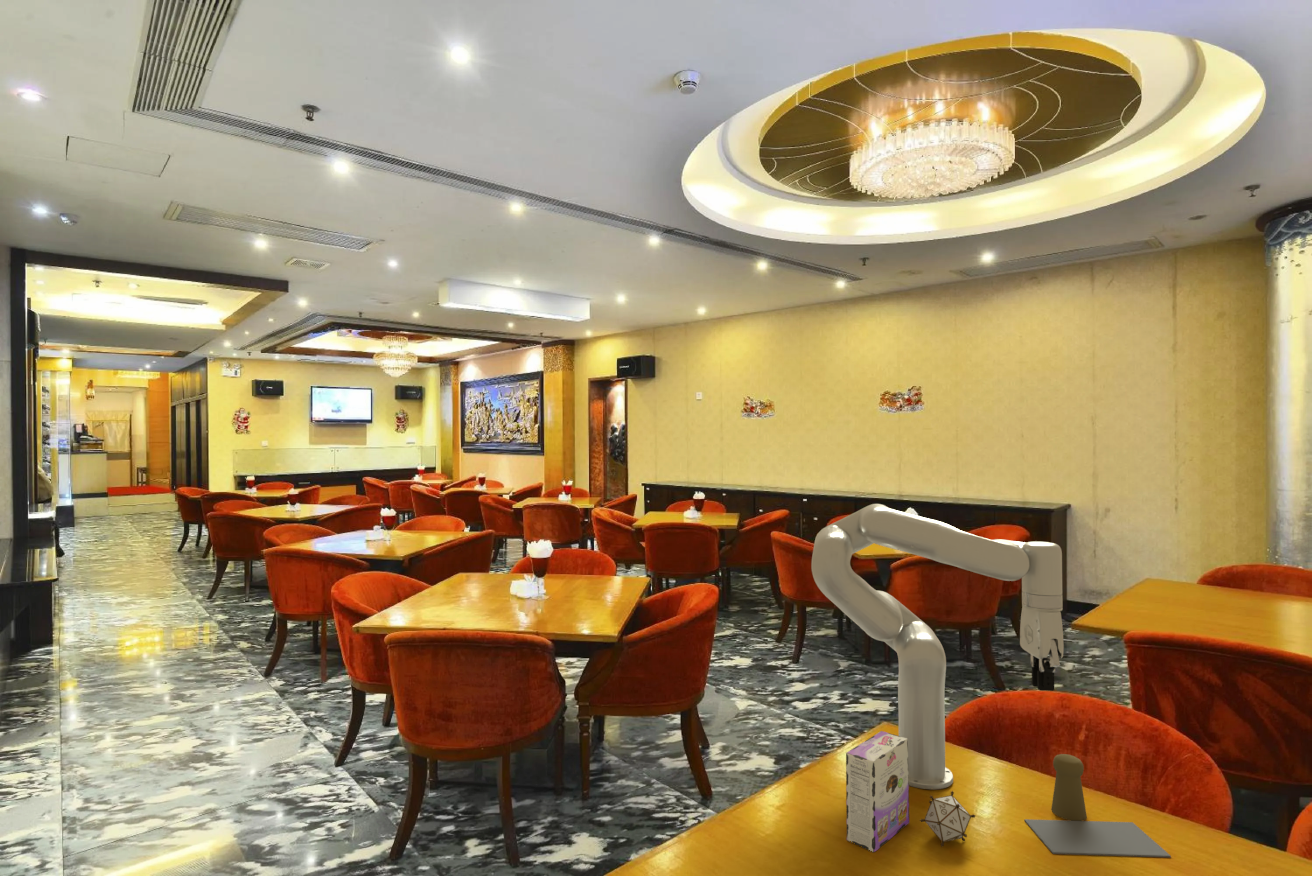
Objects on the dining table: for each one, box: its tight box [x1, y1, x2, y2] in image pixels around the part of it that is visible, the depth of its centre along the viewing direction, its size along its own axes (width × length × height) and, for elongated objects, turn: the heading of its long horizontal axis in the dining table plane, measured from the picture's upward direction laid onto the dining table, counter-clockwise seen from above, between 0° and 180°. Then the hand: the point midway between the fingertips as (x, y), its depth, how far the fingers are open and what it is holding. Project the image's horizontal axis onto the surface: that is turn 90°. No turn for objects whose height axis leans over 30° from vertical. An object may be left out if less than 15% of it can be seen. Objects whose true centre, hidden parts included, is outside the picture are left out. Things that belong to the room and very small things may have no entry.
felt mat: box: [1024, 818, 1172, 858], centre depth 130 cm, size 20×11×1 cm, turn 86°
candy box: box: [845, 730, 910, 853], centre depth 132 cm, size 14×6×16 cm, turn 135°
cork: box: [1051, 753, 1088, 821], centre depth 139 cm, size 6×6×11 cm
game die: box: [919, 790, 976, 848], centre depth 130 cm, size 9×8×10 cm
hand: (1043, 687), depth 149 cm, fingers closed
